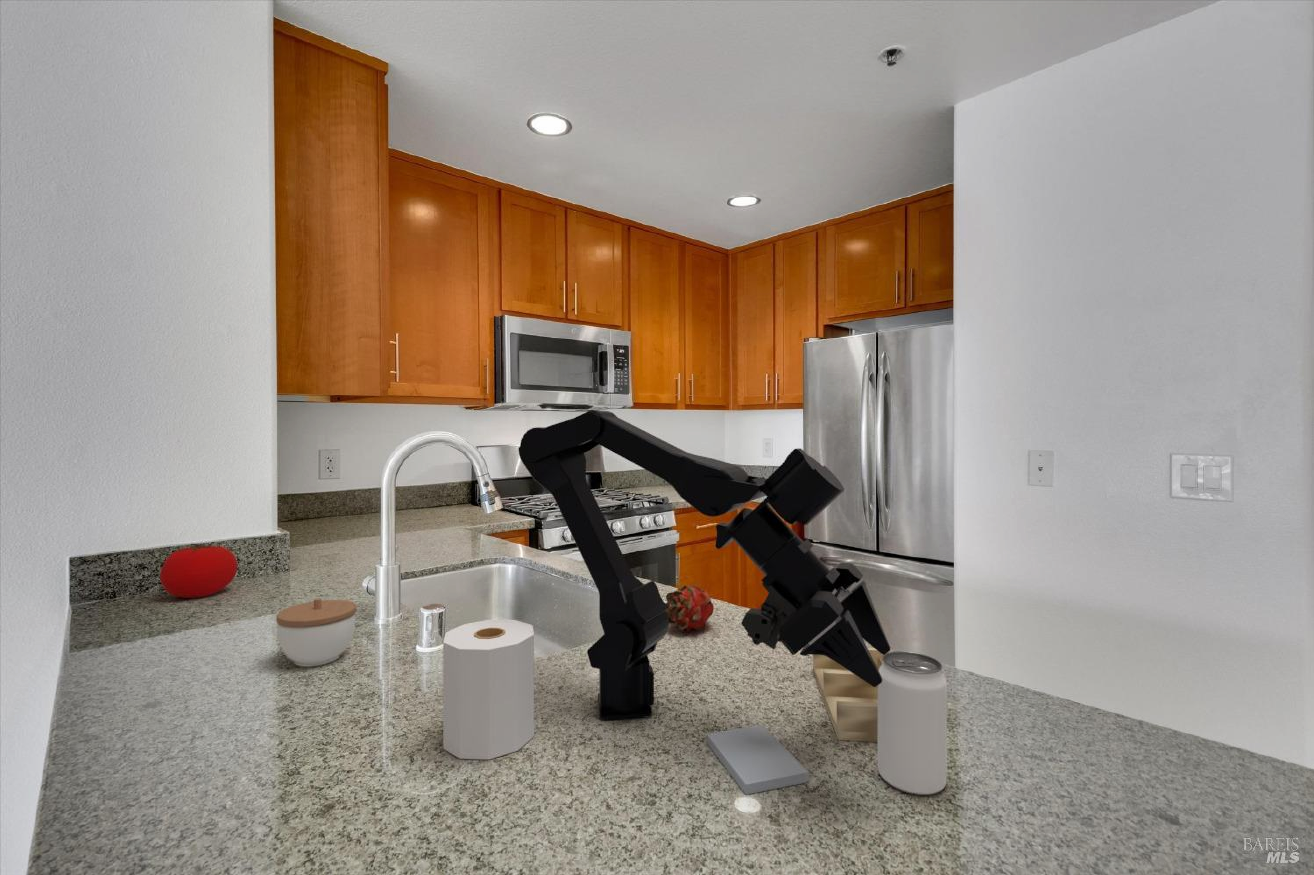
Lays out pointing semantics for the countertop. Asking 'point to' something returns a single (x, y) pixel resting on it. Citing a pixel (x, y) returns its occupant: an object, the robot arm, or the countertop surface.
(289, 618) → the lidded jar
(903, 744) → the can
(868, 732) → the rack
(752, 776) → the block
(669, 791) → the countertop surface
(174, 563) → the tomato
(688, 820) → the countertop surface
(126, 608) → the countertop surface
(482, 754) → the toilet paper
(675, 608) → the dragon fruit
